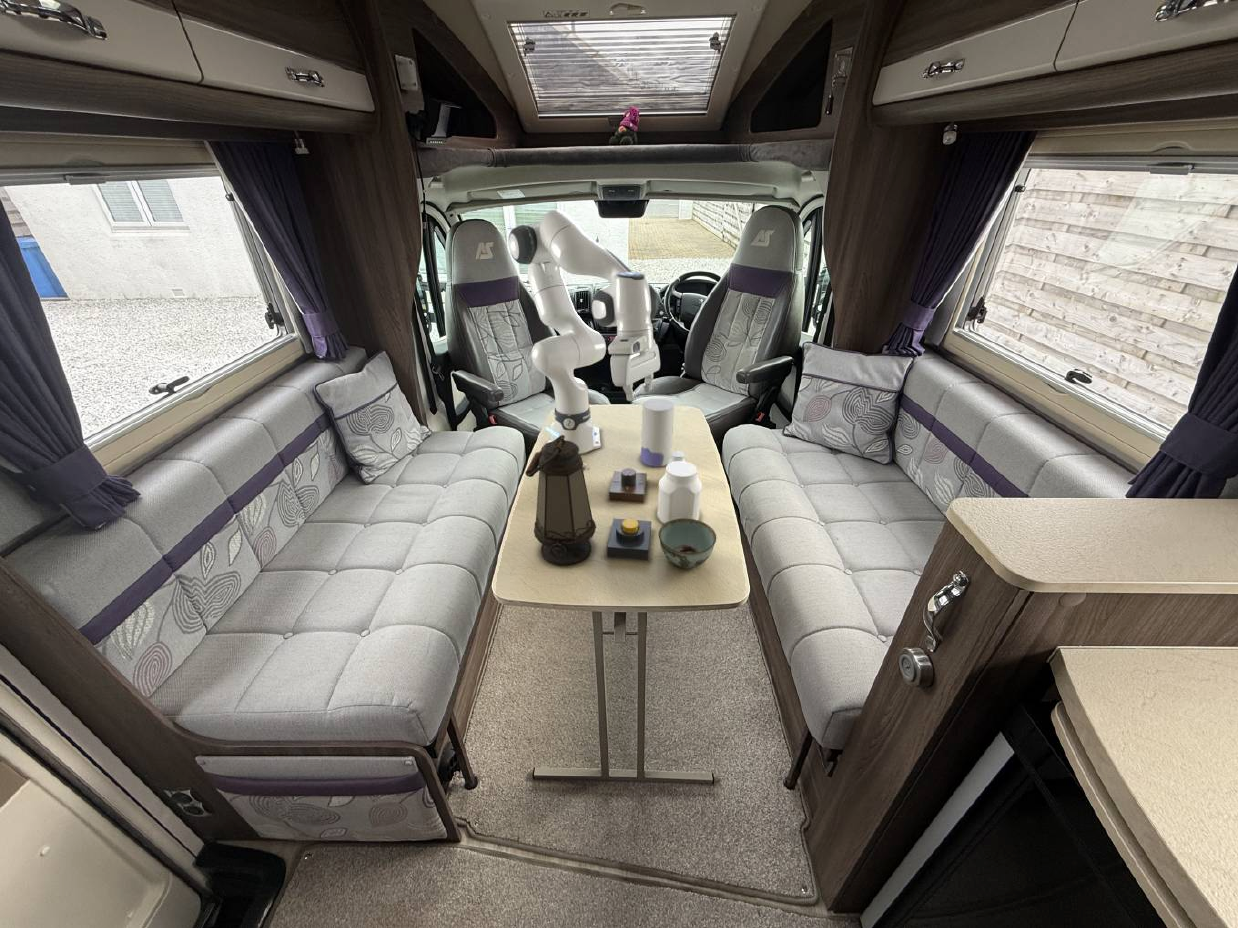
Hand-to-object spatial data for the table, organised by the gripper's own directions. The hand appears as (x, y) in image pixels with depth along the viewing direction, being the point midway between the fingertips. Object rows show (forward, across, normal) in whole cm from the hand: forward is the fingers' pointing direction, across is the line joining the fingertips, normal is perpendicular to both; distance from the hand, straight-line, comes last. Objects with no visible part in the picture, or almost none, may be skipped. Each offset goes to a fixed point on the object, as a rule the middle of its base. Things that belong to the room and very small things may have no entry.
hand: (639, 395), depth 129 cm
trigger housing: (+34, +17, +3) cm, 38 cm away
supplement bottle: (+32, -17, +1) cm, 36 cm away
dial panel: (+31, -5, -9) cm, 33 cm away
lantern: (+33, +27, -10) cm, 44 cm away
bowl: (+37, +16, +18) cm, 44 cm away
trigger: (+30, +17, +4) cm, 35 cm away
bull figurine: (+30, +4, -23) cm, 38 cm away
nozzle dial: (+28, -5, -9) cm, 30 cm away
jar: (+34, -1, +9) cm, 35 cm away
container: (+30, -27, -10) cm, 41 cm away
